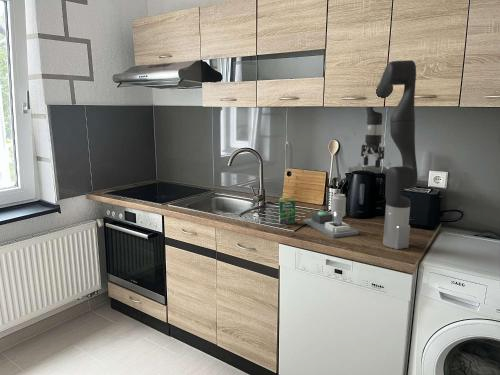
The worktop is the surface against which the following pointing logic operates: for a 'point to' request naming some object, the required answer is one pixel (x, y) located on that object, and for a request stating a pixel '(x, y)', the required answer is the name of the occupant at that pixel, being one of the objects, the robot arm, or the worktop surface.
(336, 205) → the can
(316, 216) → the pallet
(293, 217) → the coffee box
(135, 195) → the worktop surface
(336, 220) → the billet
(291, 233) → the worktop surface
